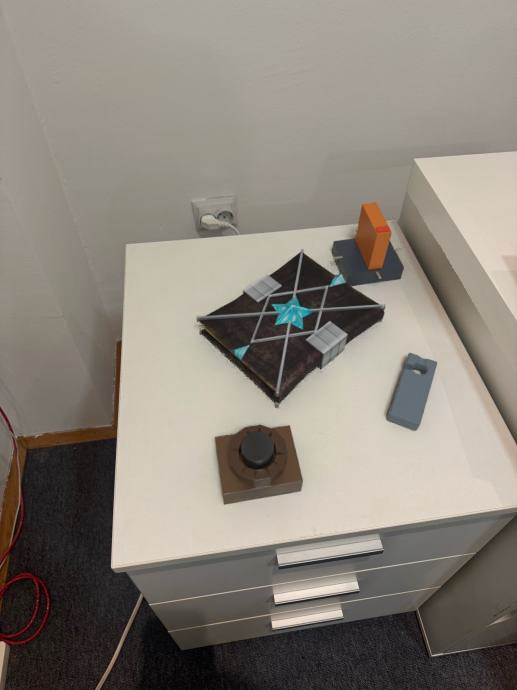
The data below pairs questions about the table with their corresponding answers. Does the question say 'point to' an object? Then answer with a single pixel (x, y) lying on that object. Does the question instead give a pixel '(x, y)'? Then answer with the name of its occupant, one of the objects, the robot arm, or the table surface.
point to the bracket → (412, 392)
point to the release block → (258, 482)
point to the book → (290, 324)
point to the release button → (257, 449)
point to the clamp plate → (364, 264)
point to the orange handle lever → (372, 235)
